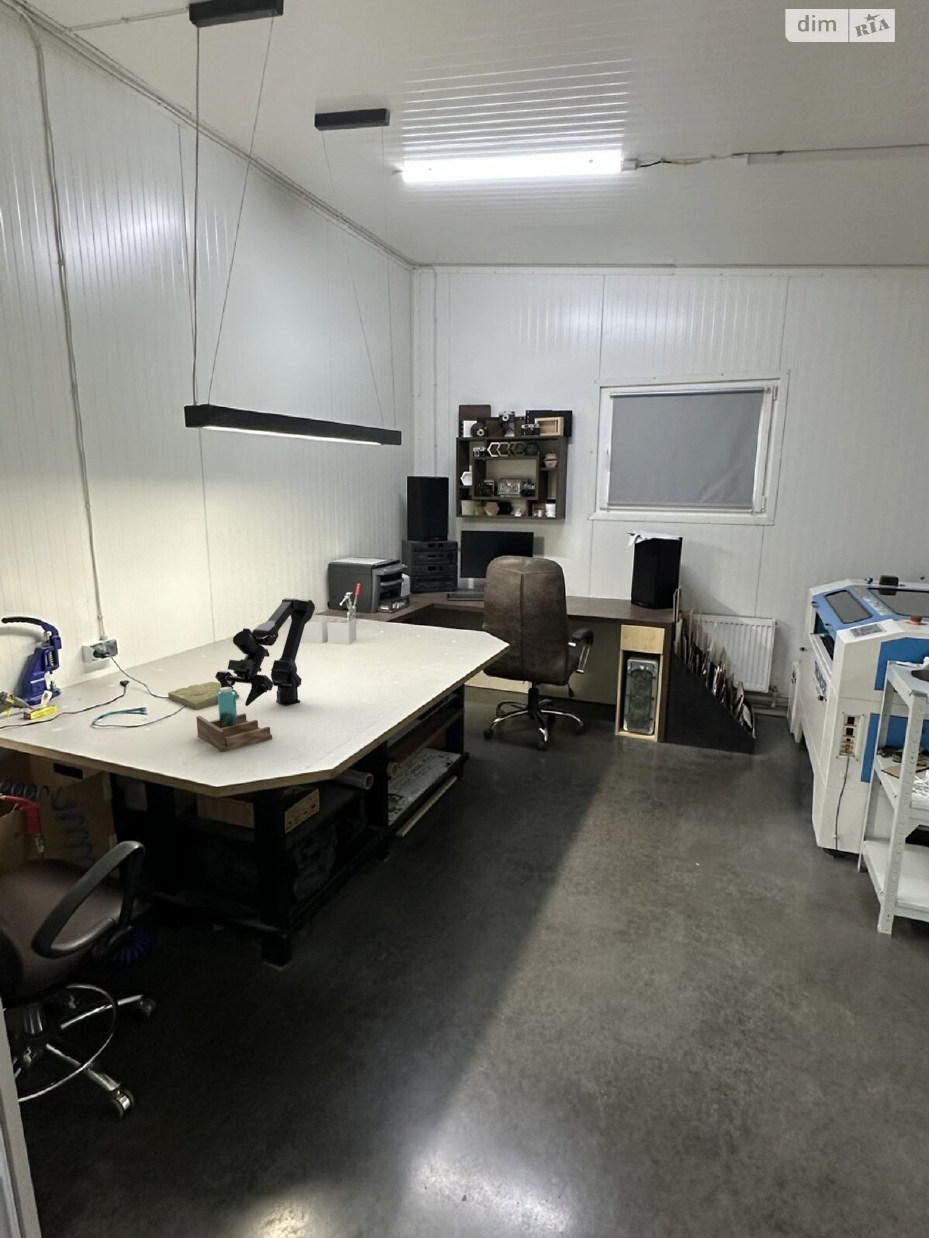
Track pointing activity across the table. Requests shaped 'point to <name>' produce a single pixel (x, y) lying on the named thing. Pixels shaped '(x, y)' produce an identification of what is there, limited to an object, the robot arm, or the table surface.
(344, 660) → the table surface
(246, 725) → the rack
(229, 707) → the spray can
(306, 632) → the storage container
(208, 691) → the decorative tile
